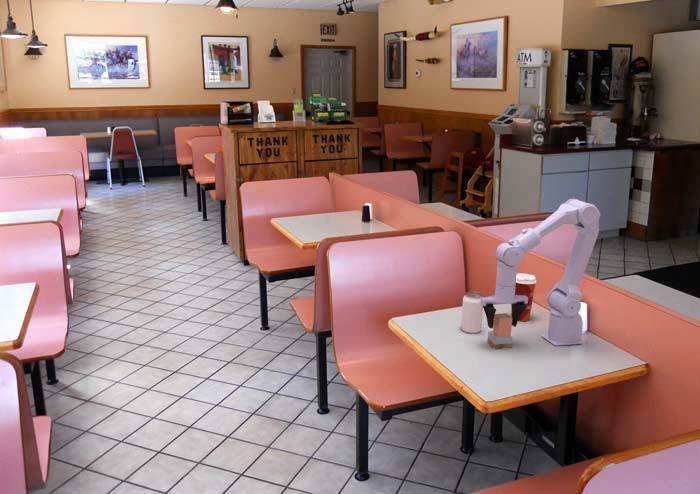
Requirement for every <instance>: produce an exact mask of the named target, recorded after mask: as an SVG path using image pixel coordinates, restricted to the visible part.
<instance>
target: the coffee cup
mask: <svg viewBox="0 0 700 494" xmlns="http://www.w3.org/2000/svg"><path fill="white" fill-rule="evenodd" d="M537 282H538V280H537V279H536V276H535V275H533V274H529V273H521V272H520V273H519V272H517V275H516V286H515V295H522V296H523V295H525V296H527V297H528V303H526V304H525V305H526V309H525V310H524V311H523V313H522V314H521V316H520V318H519V320H518V322H521V323H522V322H524V323H525V322H529V321H530V317H531V312H532V306H533V300H534V294H535V288H536V283H537ZM510 311H511V315H510V316H512V307H511V310H510Z"/></svg>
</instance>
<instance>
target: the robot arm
mask: <svg viewBox="0 0 700 494" xmlns="http://www.w3.org/2000/svg"><path fill="white" fill-rule="evenodd" d="M600 217H601V211H599V209H598V207H597V206H596V205H595V204H593V203H588V202H586V201H582V200H580V199H577V198H570V199H567V201H565V202H564V203H561V204H560V205H559V207H558V209H557V210H556V211H555V212H553V213H552V214H550V215H549V216H548V217H547V218H545V220H543V221H542V222H540V223H539V224H538V225H537V226H535V227H534V228H531V227H528V228H523V229H522V230H521V232H520V233H519V234H518V235H516V236H515V237H513V238H510V239H509V240H508V242H503V243H500V245H498V246H497V248H496V251H494V256H495V258H496V259H497V265H496V266H497V269H496V276H495V291H494V295H490V296H486V297H483V298H481V301H480V304H481V305H482V306H483V312H484V314H485V317H486V323H487V327H488V328H489V329H493V324H494V316H495V314H496V312H497V308H495V305H511V307H512V316H511V315H510V316H511V317H512V326H513V327H514V328H516V327H517V325H518V322H519V321H518V320H519V318H520V316H521V314H522V313H523V311H524V310H525V309H526V305H525V304H526V303H528V297H527V296H525V295H523V296H522V295H515V286H516V275H517V274H518V265H519V264H520V263H521V262H522V260H523V257H524V256H525V255H526V254H528V253H529V252H530V251H532V250H534V249H535V248H536V247H538V246H539V245H541V241H542V238H544V237H545V236H547V235H548V234H550V233H552V232H553V231H555V230H557V229H558V228H560V227H561V226H563V225H573V226H574V228H575V230H576V231H577V235H576V238H575V240H574V244H573V247H572V249H571V251H570V255H569V258H568V260H567V262H566V265H565V269H564V272H563V274H562V278H561V280H560V281H557V282H556V283H555V284H554V286H553V288H552V290H551V291H550V292H549V293H548V295H547V297H546V301H547V304H548V306H549V310H550V312H549V319H548V320H549V322H548V330H547V332H548V333H546V334H542V335H541V337H542V338H544V339H545V340H546V341H548V342H549V343H550V344H552V345H553V346H555V347H557V346H570V345H580V344H583V342H582V340H581V339H582V335H583V327H584V326H583V324H584V322H583V317H582V315H581V314H580V311H581V309H582V302H581V301H582V298H583V295H582V292H581V289H580V285H581V283H582V280H583V277H584V275H585V271H586V270H587V266H588V262H589V260H590V257H591V255H592V252H593V249H594V247H595V244H596V241H597V238H598V235H599V233H600V225H599V220H600Z"/></svg>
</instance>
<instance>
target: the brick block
mask: <svg viewBox="0 0 700 494" xmlns="http://www.w3.org/2000/svg"><path fill="white" fill-rule="evenodd" d="M492 331H493V333H494V334H495V335H496V336H497V337H512V317H511V315H510V314H508V313H495V316H494V324H493V328H492Z"/></svg>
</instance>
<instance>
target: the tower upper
mask: <svg viewBox="0 0 700 494" xmlns="http://www.w3.org/2000/svg"><path fill="white" fill-rule="evenodd" d="M488 338H489V339H490V340H491V341H492V342H493V343H494V344H512V345H513V336H511V337H497V336H496V335H495V334H494V333H493V330H488V333H487V339H488Z"/></svg>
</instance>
